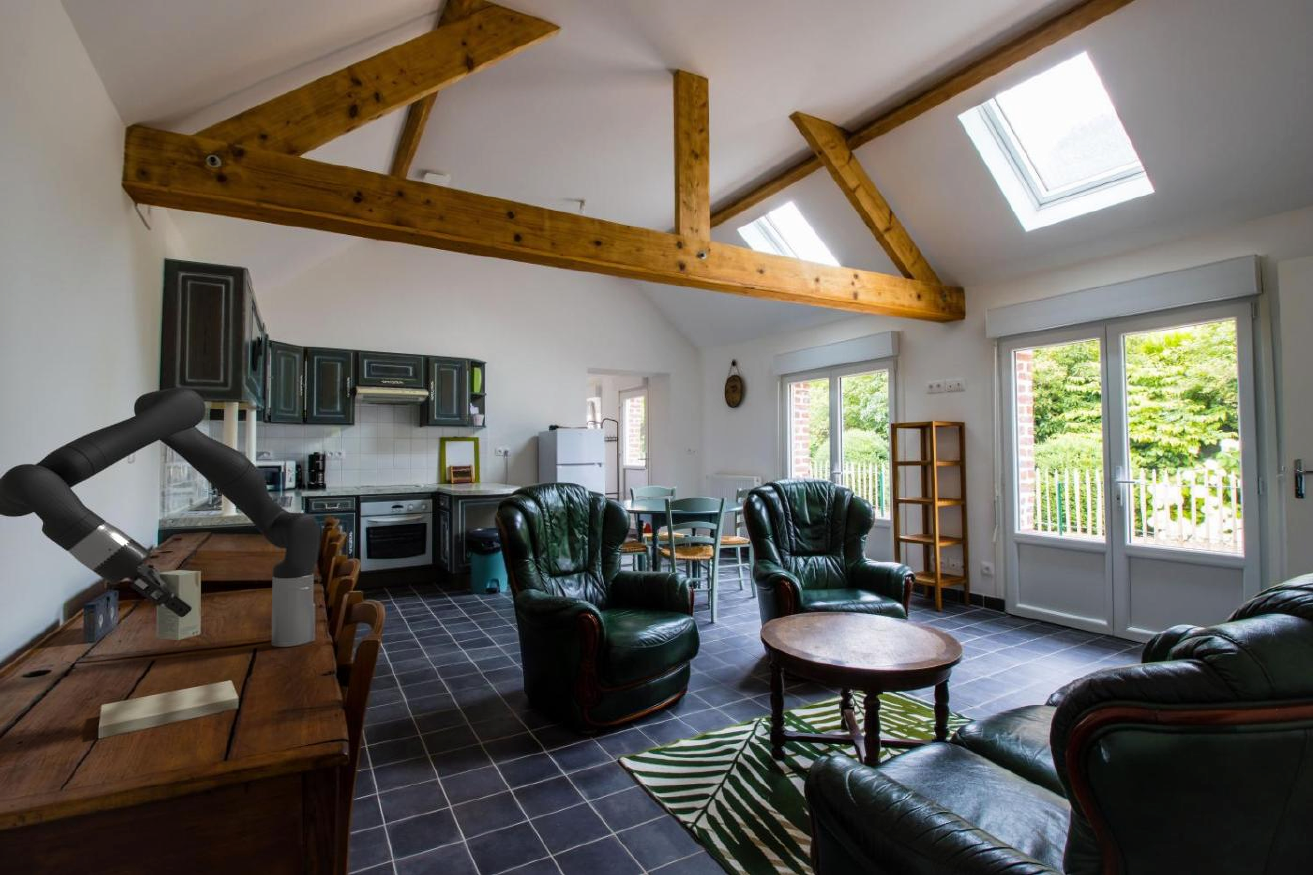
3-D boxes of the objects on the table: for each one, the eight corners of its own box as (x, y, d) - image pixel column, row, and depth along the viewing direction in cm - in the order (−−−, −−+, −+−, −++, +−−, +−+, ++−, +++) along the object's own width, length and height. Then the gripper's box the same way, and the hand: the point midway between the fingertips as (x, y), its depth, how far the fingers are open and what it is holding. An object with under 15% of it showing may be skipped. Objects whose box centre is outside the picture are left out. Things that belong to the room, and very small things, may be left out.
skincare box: (201, 635, 120) (203, 570, 120) (177, 641, 116) (179, 575, 116) (178, 631, 122) (180, 568, 122) (154, 637, 118) (156, 572, 118)
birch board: (230, 689, 129) (231, 680, 129) (238, 708, 120) (238, 697, 120) (101, 715, 116) (101, 704, 116) (98, 738, 107) (98, 726, 107)
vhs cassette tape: (107, 626, 176) (107, 590, 176) (120, 625, 177) (121, 589, 178) (79, 644, 159) (80, 605, 160) (95, 643, 161) (95, 604, 161)
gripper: (125, 541, 109) (205, 600, 116) (134, 533, 121) (206, 586, 127) (83, 575, 106) (168, 633, 112) (97, 563, 118) (173, 616, 124)
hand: (188, 608), depth 120 cm, fingers closed on skincare box, 7 cm apart
